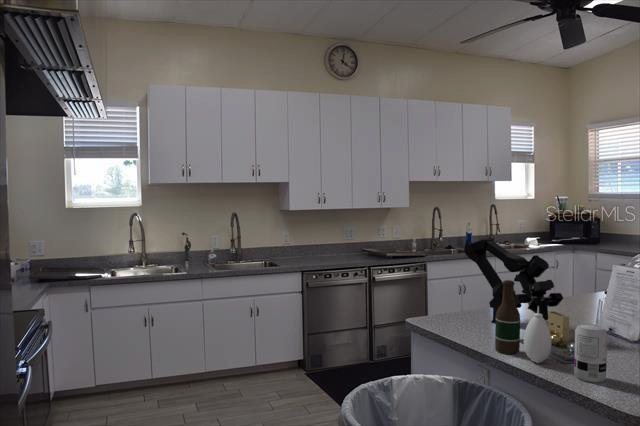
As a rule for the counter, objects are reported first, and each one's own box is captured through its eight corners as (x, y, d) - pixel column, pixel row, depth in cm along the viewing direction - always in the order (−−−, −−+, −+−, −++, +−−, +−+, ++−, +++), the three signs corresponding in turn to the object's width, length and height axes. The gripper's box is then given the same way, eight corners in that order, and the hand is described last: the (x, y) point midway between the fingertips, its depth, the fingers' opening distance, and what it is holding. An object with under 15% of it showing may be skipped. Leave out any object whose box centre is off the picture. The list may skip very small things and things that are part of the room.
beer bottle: (519, 349, 174) (520, 279, 173) (520, 356, 167) (521, 283, 166) (495, 346, 177) (496, 278, 176) (495, 353, 169) (496, 282, 168)
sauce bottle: (518, 360, 162) (519, 304, 162) (534, 356, 166) (535, 302, 166) (539, 367, 156) (540, 309, 155) (555, 363, 160) (557, 306, 159)
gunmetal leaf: (550, 353, 168) (551, 343, 168) (574, 352, 170) (575, 341, 170) (565, 360, 161) (565, 349, 161) (590, 359, 163) (590, 348, 163)
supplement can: (568, 373, 151) (569, 323, 150) (594, 373, 152) (595, 323, 151) (584, 383, 143) (586, 330, 142) (612, 383, 143) (614, 330, 143)
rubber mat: (516, 340, 185) (516, 339, 184) (553, 338, 187) (553, 337, 187) (564, 364, 159) (564, 363, 159) (605, 361, 162) (605, 360, 162)
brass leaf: (539, 339, 183) (540, 312, 183) (553, 338, 184) (554, 311, 184) (553, 346, 175) (554, 317, 175) (568, 345, 177) (569, 316, 176)
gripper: (516, 272, 189) (533, 308, 179) (560, 271, 193) (580, 306, 182) (504, 290, 197) (520, 325, 187) (547, 288, 201) (565, 323, 190)
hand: (547, 319), depth 186 cm, fingers closed
